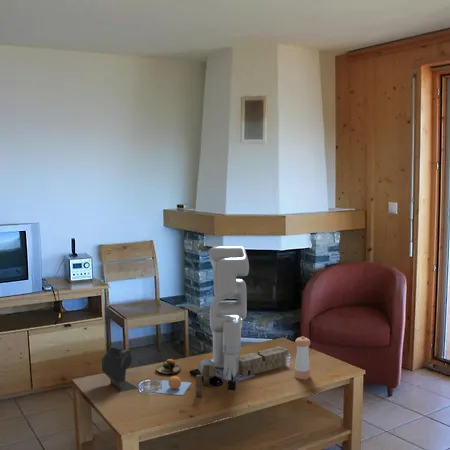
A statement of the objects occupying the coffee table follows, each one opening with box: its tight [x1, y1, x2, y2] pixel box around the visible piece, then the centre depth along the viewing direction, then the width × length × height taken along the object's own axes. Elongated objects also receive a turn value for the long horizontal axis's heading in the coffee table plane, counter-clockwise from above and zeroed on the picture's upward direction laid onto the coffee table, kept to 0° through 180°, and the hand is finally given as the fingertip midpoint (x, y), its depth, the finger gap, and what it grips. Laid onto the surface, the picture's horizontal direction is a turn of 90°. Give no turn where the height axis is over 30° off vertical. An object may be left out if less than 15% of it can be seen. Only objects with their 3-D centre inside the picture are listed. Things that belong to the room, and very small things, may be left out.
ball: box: [168, 375, 182, 389], centre depth 247 cm, size 6×6×6 cm
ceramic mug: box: [198, 358, 223, 378], centre depth 261 cm, size 10×8×7 cm
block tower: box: [236, 345, 289, 378], centre depth 271 cm, size 8×8×29 cm
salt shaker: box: [293, 335, 311, 380], centre depth 260 cm, size 7×7×19 cm
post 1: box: [195, 374, 203, 398], centre depth 238 cm, size 3×3×9 cm
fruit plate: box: [155, 358, 182, 376], centre depth 268 cm, size 12×12×8 cm
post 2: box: [203, 365, 210, 387], centre depth 251 cm, size 3×3×9 cm
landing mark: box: [153, 379, 192, 396], centre depth 248 cm, size 14×14×1 cm
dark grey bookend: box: [101, 346, 139, 392], centre depth 250 cm, size 14×15×18 cm
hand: (231, 389), depth 242 cm, fingers closed
